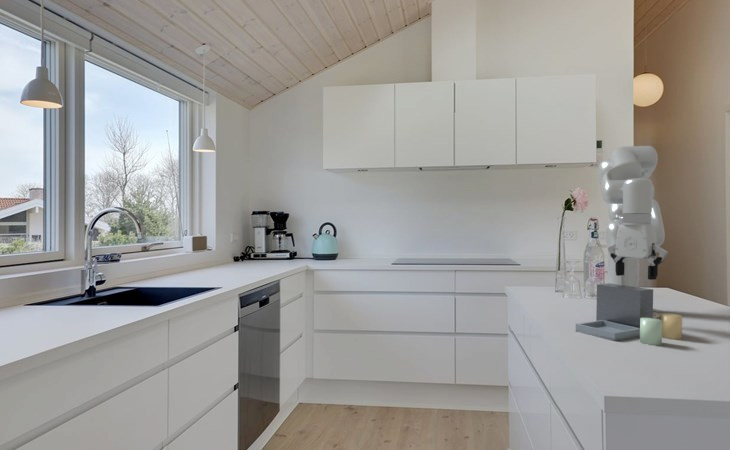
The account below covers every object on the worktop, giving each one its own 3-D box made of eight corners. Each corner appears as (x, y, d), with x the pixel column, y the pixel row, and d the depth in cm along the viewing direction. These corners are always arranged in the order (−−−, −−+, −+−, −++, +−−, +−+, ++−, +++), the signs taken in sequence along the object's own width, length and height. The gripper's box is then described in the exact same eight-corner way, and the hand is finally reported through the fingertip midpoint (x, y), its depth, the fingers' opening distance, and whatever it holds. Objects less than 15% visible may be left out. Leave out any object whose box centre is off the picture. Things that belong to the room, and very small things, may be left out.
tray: (602, 326, 134) (602, 319, 134) (641, 336, 124) (641, 328, 124) (575, 330, 129) (575, 323, 129) (614, 340, 119) (614, 333, 119)
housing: (609, 321, 141) (609, 282, 141) (655, 332, 129) (656, 289, 128) (593, 324, 137) (593, 284, 137) (639, 335, 125) (640, 291, 125)
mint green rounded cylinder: (646, 339, 120) (647, 317, 120) (665, 344, 116) (666, 320, 116) (635, 341, 118) (636, 318, 118) (654, 346, 114) (655, 322, 114)
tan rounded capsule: (666, 334, 127) (667, 312, 126) (685, 338, 122) (686, 316, 122) (656, 336, 124) (657, 314, 124) (675, 340, 120) (676, 317, 120)
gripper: (601, 219, 142) (600, 274, 143) (659, 220, 127) (658, 281, 127) (617, 219, 146) (615, 273, 146) (674, 220, 131) (673, 280, 131)
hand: (635, 277), depth 137 cm, fingers open, 9 cm apart
